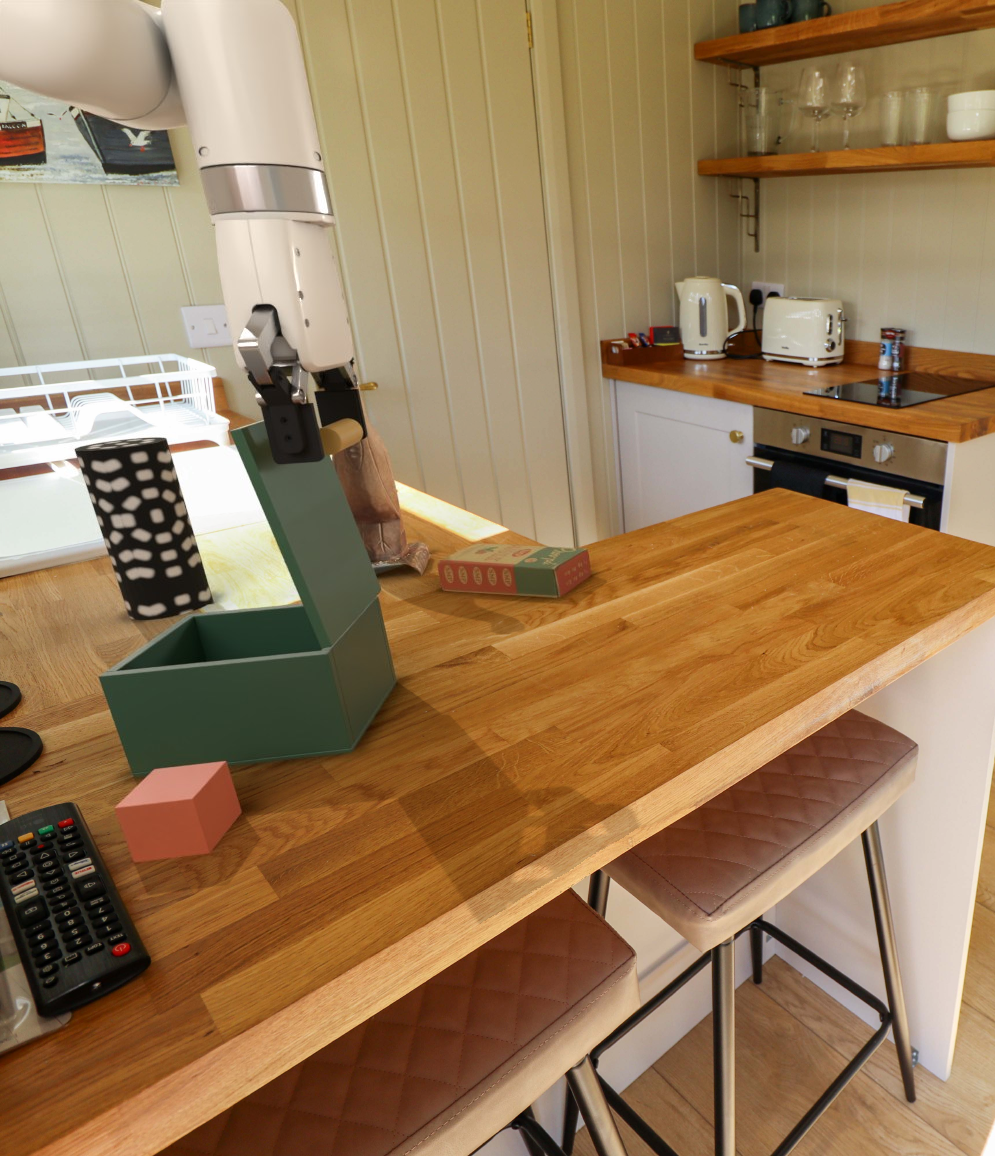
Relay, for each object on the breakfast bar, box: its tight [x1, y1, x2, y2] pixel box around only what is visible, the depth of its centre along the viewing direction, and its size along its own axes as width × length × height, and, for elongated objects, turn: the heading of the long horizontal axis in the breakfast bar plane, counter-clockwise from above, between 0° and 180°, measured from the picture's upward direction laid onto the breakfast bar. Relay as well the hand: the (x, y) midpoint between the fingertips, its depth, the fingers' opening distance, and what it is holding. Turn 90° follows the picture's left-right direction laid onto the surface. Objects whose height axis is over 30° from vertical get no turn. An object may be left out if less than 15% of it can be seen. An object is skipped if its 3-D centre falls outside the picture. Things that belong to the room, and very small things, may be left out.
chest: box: [98, 596, 398, 778], centre depth 67 cm, size 16×13×9 cm
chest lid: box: [229, 418, 382, 649], centre depth 64 cm, size 16×13×5 cm
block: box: [113, 761, 243, 863], centre depth 53 cm, size 4×4×4 cm
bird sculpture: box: [331, 363, 431, 576], centre depth 103 cm, size 11×12×32 cm
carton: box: [437, 542, 592, 599], centre depth 100 cm, size 8×16×4 cm, turn 74°
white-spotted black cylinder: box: [74, 436, 214, 621], centre depth 95 cm, size 8×8×20 cm
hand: (325, 450), depth 62 cm, fingers open, 9 cm apart
